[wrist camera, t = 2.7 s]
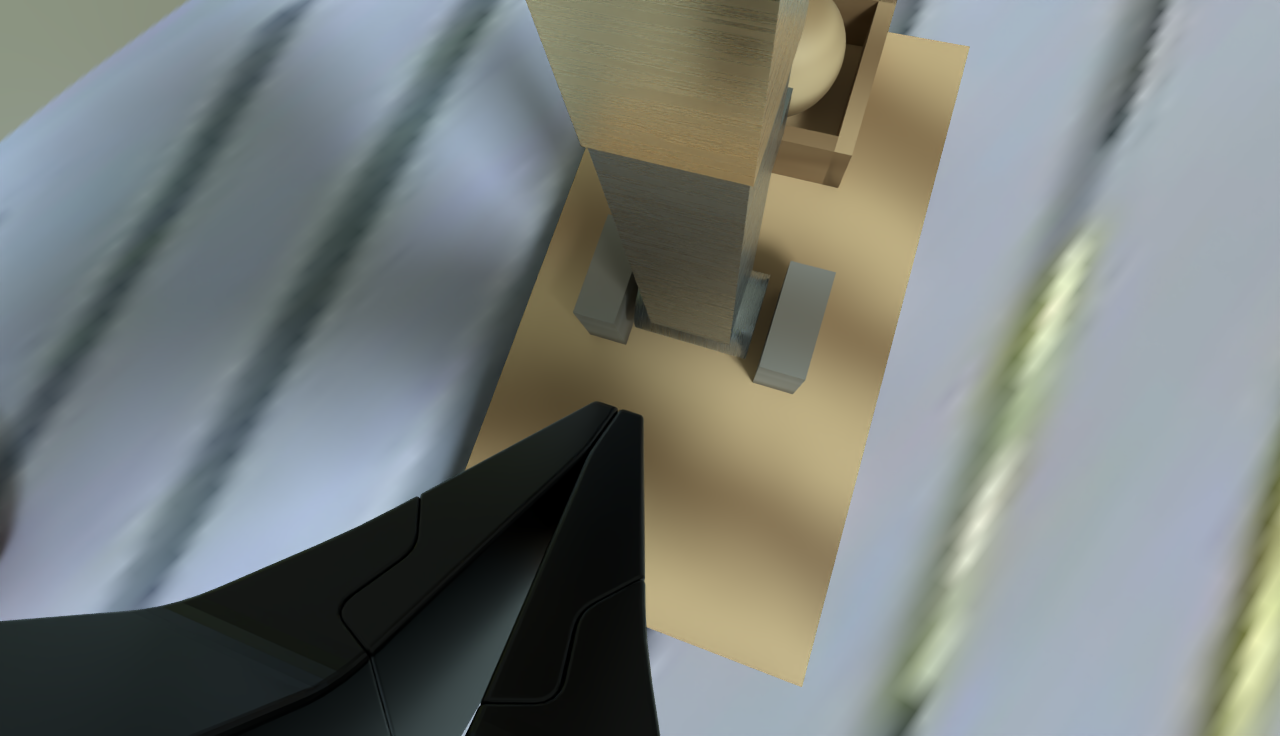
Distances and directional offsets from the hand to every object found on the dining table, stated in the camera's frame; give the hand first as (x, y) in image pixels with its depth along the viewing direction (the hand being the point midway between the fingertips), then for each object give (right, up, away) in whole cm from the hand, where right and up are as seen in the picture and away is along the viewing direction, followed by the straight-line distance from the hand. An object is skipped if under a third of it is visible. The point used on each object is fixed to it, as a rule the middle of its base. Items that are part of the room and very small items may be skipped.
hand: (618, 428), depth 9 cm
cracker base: (+2, +2, +10) cm, 10 cm away
